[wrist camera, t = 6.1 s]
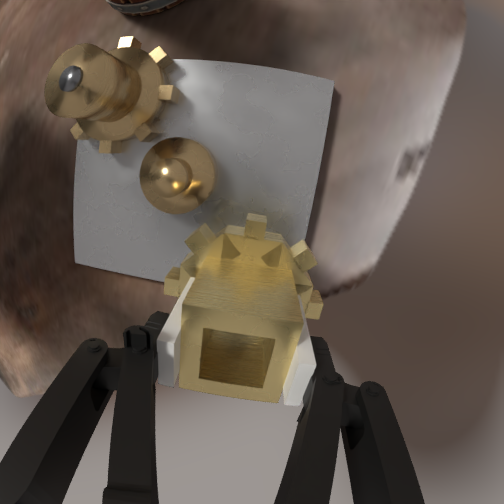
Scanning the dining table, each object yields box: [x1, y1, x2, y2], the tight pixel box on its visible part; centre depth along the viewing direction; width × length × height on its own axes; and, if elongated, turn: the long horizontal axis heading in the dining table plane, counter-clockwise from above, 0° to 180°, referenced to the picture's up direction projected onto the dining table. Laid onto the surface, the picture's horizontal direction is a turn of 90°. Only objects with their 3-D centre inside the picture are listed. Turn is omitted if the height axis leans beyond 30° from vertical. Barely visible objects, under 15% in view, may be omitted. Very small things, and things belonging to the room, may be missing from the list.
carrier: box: [45, 36, 334, 282], centre depth 19 cm, size 23×22×10 cm
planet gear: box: [164, 213, 323, 403], centre depth 17 cm, size 10×10×8 cm
